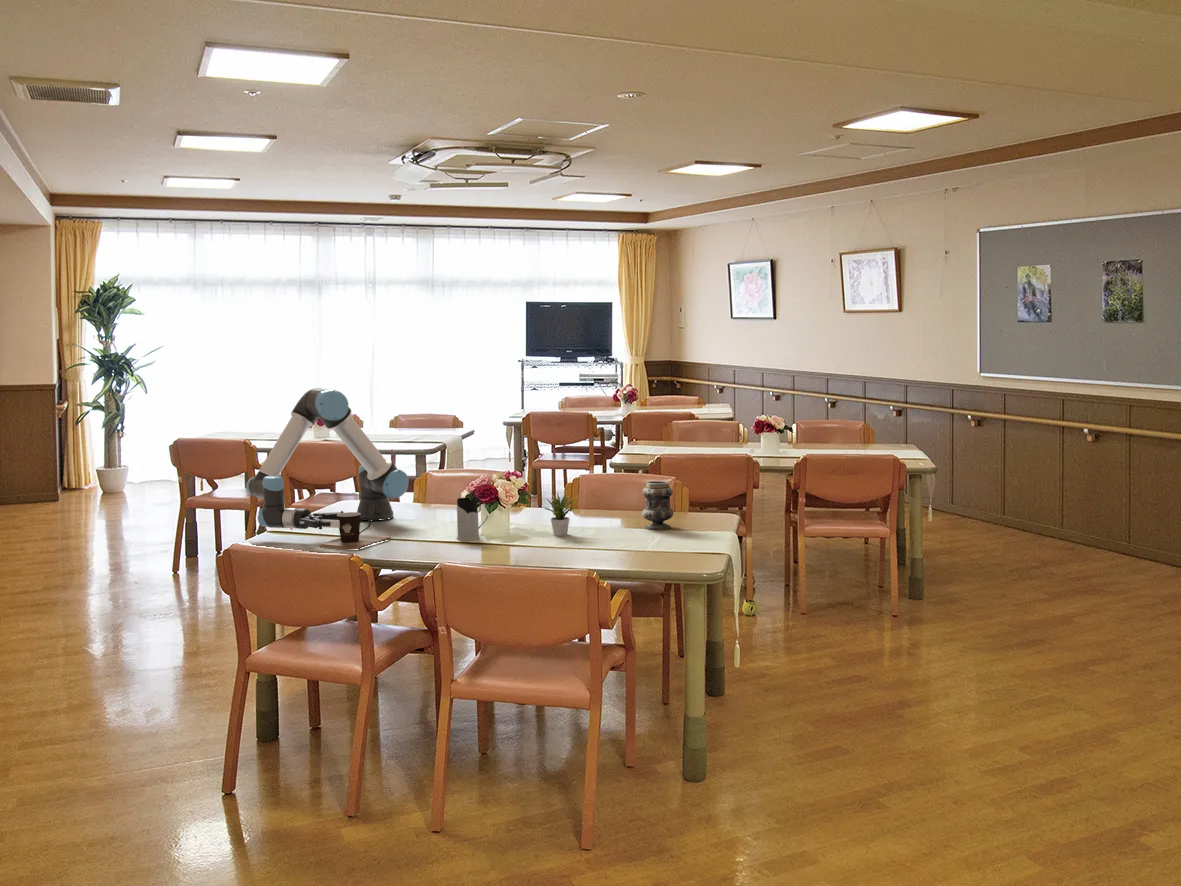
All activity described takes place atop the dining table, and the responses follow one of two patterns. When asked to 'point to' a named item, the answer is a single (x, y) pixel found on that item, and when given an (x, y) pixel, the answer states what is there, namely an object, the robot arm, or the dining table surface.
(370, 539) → the spiral notebook
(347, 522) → the coffee mug
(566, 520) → the house plant
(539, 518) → the dining table surface
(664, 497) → the apothecary jar
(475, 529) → the gray pitcher
